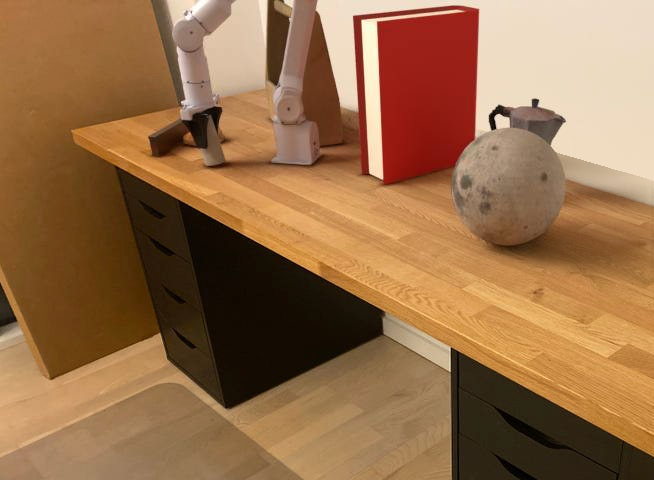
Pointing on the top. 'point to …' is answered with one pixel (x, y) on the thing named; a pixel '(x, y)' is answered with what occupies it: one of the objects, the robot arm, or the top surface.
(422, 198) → the top surface
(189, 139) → the pastry
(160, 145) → the wall shelf
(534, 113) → the moka pot
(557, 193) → the moon model
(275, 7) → the caddy
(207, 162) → the planter
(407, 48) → the book
